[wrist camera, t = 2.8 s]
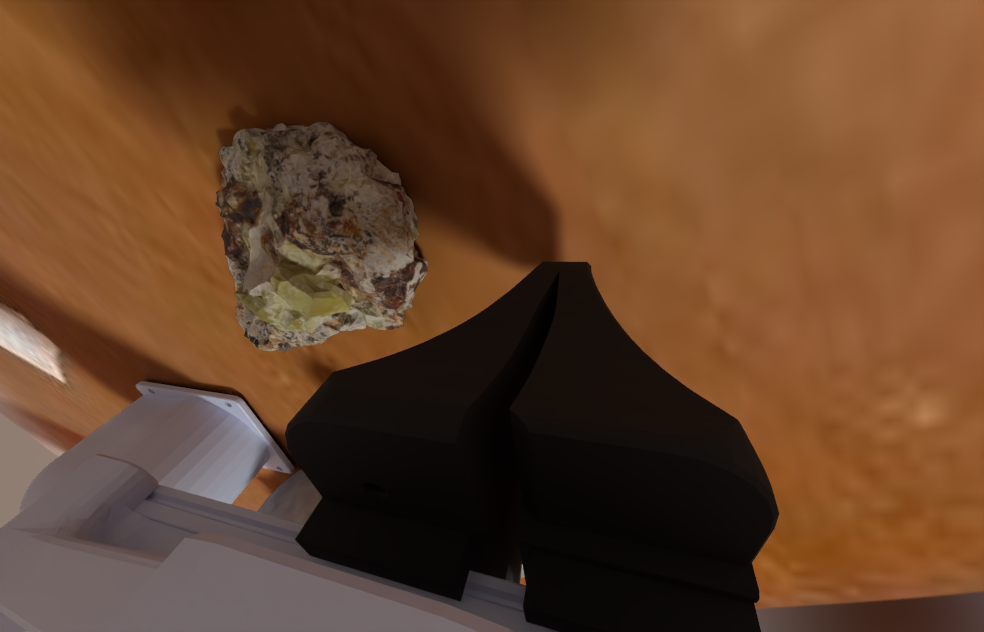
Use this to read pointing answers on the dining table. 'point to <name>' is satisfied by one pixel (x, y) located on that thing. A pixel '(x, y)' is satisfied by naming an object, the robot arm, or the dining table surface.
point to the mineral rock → (315, 236)
